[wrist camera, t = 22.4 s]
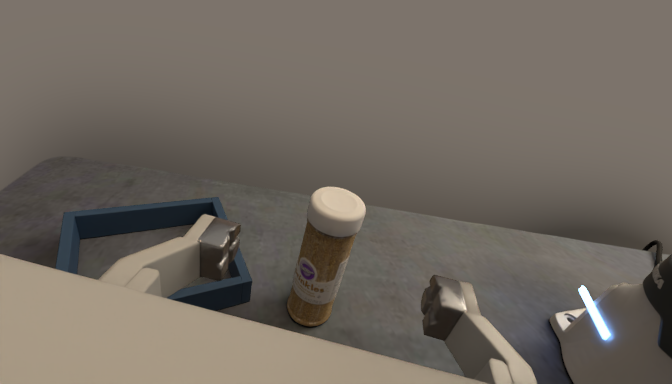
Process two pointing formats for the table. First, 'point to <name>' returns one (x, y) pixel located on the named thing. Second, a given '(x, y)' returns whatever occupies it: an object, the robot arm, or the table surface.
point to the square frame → (155, 218)
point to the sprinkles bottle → (324, 253)
